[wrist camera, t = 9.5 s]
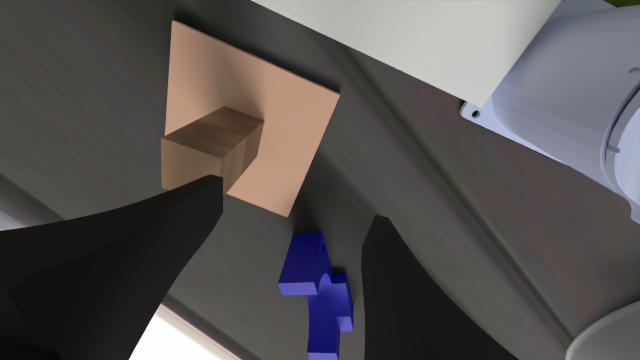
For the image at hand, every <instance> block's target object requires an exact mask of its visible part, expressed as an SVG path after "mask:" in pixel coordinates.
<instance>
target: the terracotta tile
mask: <svg viewBox="0 0 640 360" xmlns="http://www.w3.org/2000/svg"><path fill="white" fill-rule="evenodd" d="M339 97H340V93H337V92H335V91H333V90H331V89H329V88H326V87H324V86H322V85H320V84H317V83H315V82H313V81H311V80H308V79H306V78H304V77H302V76H300V75H297V74H295V73H293V72H291V71H288V70H286V69H284V68H282V67H279V66H277V65H275V64H273V63H270V62H268V61H266V60H264V59H262V58H259V57H257V56H255V55H253V54H250V53H248V52H246V51H244V50H241V49H239V48H237V47H235V46H233V45H230V44H228V43H226V42H224V41H221V40H219V39H217V38H215V37H212V36H210V35H208V34H206V33H203V32H201V31H199V30H197V29H195V28H192V27H190V26H188V25H186V24H183V23H181V22H179V21H173V20H172V33H171V49H170V65H169V81H168V96H167V112H166V128H165V136H166V135H168V134H170V133H172V132H174V131H175V130H177V129H179V128H181V127H183V126H185V125H187V124H189V123H191V122H193V121H195V120H197V119H199V118H201V117H203V116H205V115H207V114H209V113H211V112H213V111H215V110H217V109H219V108H221V107H223V106H225V107H228V108H231V109H234V110H236V111H239V112H242V113H245V114H248V115H250V116H253V117H256V118H259V119H262V120H264V121H265V122H264V126H263V131H262V136H261V140H260V145H259V150H258V155H257V157H256V158H255V160H254V161H253V162H252V163H251V164H250V166H249V167H248V168H247V169H246V170H245V172H244V173H243V174H242V175H241V176H240V178H239V179H238V180H237V181H236V182H235V184H234V185H233V186H232V187H231V188H230V190H229V191H228V192H227V193H226V194H229V195H232V196H234V197H237V198H239V199H242V200H244V201H247V202H250V203H252V204H255V205H257V206H260V207H262V208H265V209H267V210H270V211H273V212H275V213H278V214H280V215H283V216H285V217H288V215H289V213H290V211H291V208H292V206H293V204H294V201H295V199H296V197H297V194H298V192H299V190H300V187H301V185H302V183H303V180H304V178H305V176H306V173H307V171H308V169H309V166H310V164H311V162H312V159H313V157H314V155H315V152H316V150H317V148H318V145H319V143H320V141H321V138H322V136H323V134H324V131H325V129H326V127H327V124H328V122H329V120H330V118H331V115H332V113H333V111H334V108H335V106H336V104H337V101H338V99H339Z"/></svg>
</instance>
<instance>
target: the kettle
mask: <svg viewBox="0 0 640 360" xmlns="http://www.w3.org/2000/svg"><path fill="white" fill-rule="evenodd" d="M565 360H640V301H638V302H635V303H632V304H630V305H627V306H625V307H622V308H620V309H618V310H616V311H614V312H612V313H610V314H608V315H606V316H604V317H602V318H600V319H599V320H597V321H595V322H594V323H592V324H591V325H589V326H588V327H587V328H585V329H584V330H583V331H582V332H581V333H579V334H578V335H577V336H576V337H575V339H574V340H573V341H572V342H571V344H570V345H569V347H568V349H567V351H566V355H565Z"/></svg>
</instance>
